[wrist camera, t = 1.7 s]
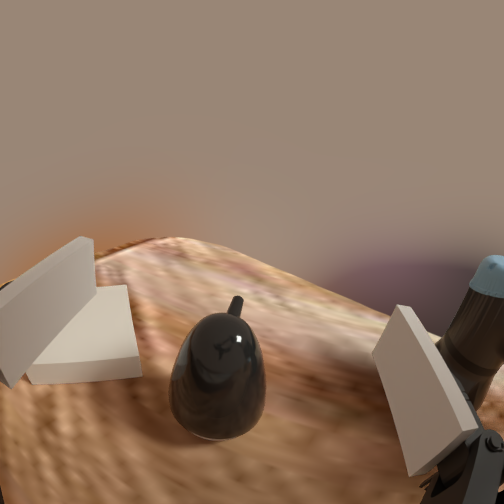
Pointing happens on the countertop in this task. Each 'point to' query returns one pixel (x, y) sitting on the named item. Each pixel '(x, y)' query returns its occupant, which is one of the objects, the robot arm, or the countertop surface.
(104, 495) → the countertop surface
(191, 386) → the dark brown rounded piece
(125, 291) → the riser
